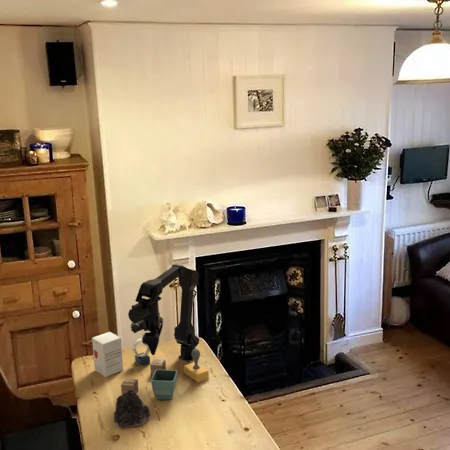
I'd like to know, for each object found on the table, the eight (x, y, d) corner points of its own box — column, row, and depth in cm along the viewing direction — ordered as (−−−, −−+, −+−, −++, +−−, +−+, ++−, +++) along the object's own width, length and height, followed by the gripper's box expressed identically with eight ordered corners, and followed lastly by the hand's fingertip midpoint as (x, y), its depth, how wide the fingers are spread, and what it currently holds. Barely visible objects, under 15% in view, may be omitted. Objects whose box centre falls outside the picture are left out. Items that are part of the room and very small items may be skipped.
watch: (154, 362, 246) (152, 338, 244) (137, 367, 242) (135, 343, 239) (148, 357, 251) (146, 334, 248) (131, 362, 246) (129, 339, 244)
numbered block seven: (154, 369, 240) (154, 358, 239) (166, 370, 239) (165, 359, 238) (150, 375, 235) (150, 364, 234) (162, 376, 234) (161, 365, 233)
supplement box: (93, 370, 241) (91, 337, 237) (112, 363, 247) (109, 330, 243) (105, 377, 234) (102, 344, 231) (123, 370, 240) (121, 337, 237)
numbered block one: (126, 389, 225) (125, 377, 224) (138, 390, 224) (137, 378, 223) (121, 396, 220) (120, 384, 219) (134, 397, 219) (133, 385, 218)
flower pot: (179, 390, 223) (177, 369, 221) (174, 403, 214) (173, 381, 212) (156, 390, 224) (155, 369, 222) (151, 402, 215) (150, 380, 213)
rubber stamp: (209, 378, 232) (208, 351, 229) (197, 383, 228) (196, 355, 226) (195, 369, 240) (194, 342, 237) (184, 373, 236) (182, 346, 233)
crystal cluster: (138, 435, 197) (140, 408, 195) (104, 424, 201) (105, 398, 199) (156, 416, 209) (157, 391, 207) (123, 407, 213) (124, 383, 211)
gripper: (135, 304, 235) (138, 339, 239) (127, 324, 217) (130, 361, 221) (162, 303, 235) (164, 338, 239) (156, 323, 217) (159, 360, 221)
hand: (154, 349), depth 230 cm, fingers open, 9 cm apart
